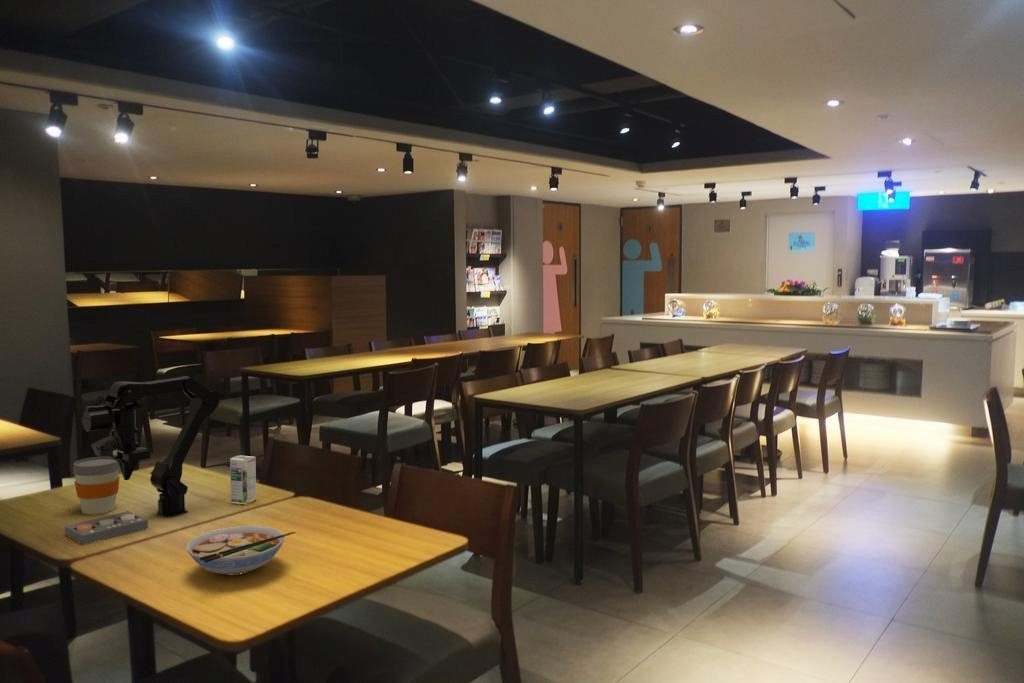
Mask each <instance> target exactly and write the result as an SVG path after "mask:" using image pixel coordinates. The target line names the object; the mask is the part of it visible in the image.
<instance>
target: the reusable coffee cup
mask: <svg viewBox="0 0 1024 683" xmlns="http://www.w3.org/2000/svg"><path fill="white" fill-rule="evenodd" d="M72 468H73V471H72V472H73V475H74V478H75V481H74V487H75V490H76V491H75V492H76V496H77V498H79V499H78V500H79V503H80V510H81V513H82V512H83V513H82V514H84V513H86V514H85V515H100V513H102V514H106V513H110V512H111V510H112V511H114V510H115V509H116V503H117V502H116V500H117V494H118V493H119V485H120V476H119V472H120V470H121V469H120V467H119V464H118V462H117V461H116V460H115V459H113V458H111V457H110V456H103V457H100V456H95V457H89V458H84V459H79V460H76V461H75V462H74V463H73V467H72ZM113 509H114V510H113ZM109 511H110V512H109ZM105 512H106V513H105Z"/></svg>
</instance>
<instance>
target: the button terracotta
mask: <svg viewBox="0 0 1024 683" xmlns="http://www.w3.org/2000/svg"><path fill="white" fill-rule="evenodd" d="M90 529H92V524H81V525H78V526H77V531H78V532H82V531H86V530H90Z"/></svg>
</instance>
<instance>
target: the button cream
mask: <svg viewBox="0 0 1024 683" xmlns="http://www.w3.org/2000/svg"><path fill="white" fill-rule="evenodd" d="M135 514H136V513H133V514H125V515H122V516H121V521H127V520H132V519H135Z"/></svg>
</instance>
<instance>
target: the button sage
mask: <svg viewBox="0 0 1024 683" xmlns="http://www.w3.org/2000/svg"><path fill="white" fill-rule="evenodd" d="M111 524H114V519H103V520H100V521H99V526H101V527H102V526H107V525H111Z"/></svg>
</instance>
